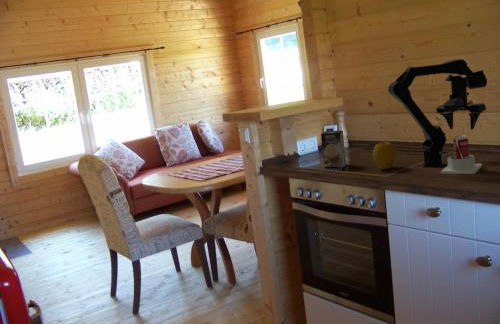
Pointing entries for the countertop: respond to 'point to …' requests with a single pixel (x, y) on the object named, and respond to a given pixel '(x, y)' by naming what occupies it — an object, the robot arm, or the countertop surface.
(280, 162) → the countertop surface
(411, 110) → the robot arm
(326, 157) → the coffee box
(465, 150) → the soda can
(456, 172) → the can holder
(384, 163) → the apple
